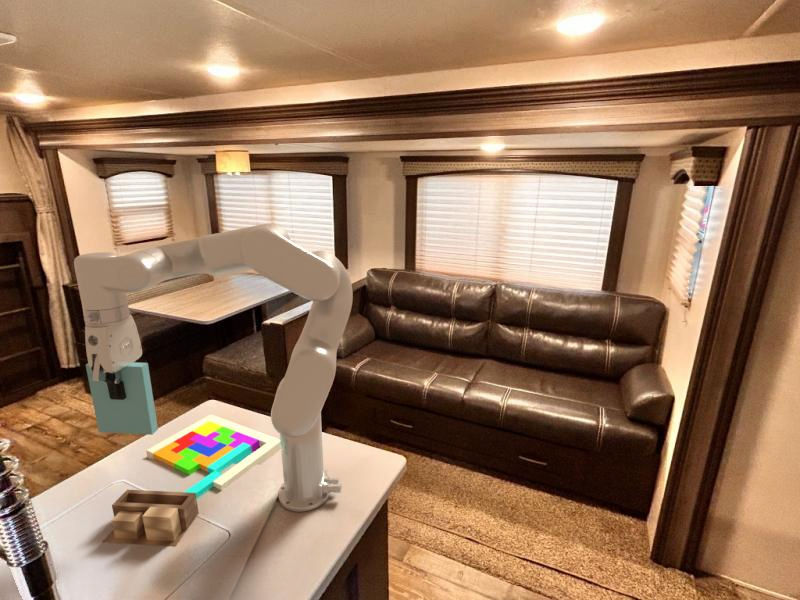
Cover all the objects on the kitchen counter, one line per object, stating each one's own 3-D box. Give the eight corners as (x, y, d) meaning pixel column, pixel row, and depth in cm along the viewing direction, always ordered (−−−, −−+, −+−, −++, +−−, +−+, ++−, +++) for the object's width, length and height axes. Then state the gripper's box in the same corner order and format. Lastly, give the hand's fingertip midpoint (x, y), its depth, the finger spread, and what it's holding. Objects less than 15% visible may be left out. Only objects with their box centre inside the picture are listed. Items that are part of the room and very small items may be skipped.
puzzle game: (212, 422, 134) (113, 478, 108) (211, 414, 133) (111, 469, 107) (283, 449, 120) (189, 521, 95) (282, 440, 119) (187, 510, 94)
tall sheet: (157, 429, 92) (147, 362, 88) (152, 434, 90) (141, 366, 86) (105, 427, 93) (92, 360, 89) (98, 432, 91) (85, 364, 87)
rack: (199, 516, 95) (195, 492, 93) (176, 550, 86) (171, 524, 85) (132, 513, 96) (127, 489, 94) (102, 545, 87) (96, 520, 86)
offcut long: (181, 531, 90) (177, 508, 88) (174, 541, 87) (170, 517, 86) (154, 529, 90) (150, 506, 89) (146, 539, 88) (142, 516, 86)
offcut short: (145, 529, 90) (142, 512, 89) (137, 539, 88) (134, 521, 87) (123, 528, 91) (120, 511, 89) (115, 537, 88) (111, 520, 87)
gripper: (95, 327, 77) (113, 416, 82) (149, 303, 92) (161, 379, 97) (56, 326, 77) (76, 414, 82) (116, 303, 92) (130, 378, 97)
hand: (122, 395), depth 89 cm, fingers closed on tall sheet, 2 cm apart
